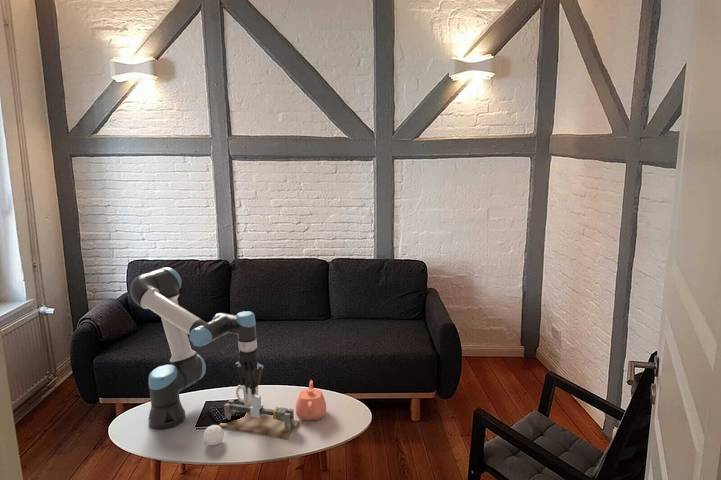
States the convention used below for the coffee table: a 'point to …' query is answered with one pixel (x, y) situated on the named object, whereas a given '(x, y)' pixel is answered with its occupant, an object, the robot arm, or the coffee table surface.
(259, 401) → the white stepped block
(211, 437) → the geometric ball
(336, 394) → the coffee table surface
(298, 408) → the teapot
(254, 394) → the mug
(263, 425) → the din rail terminal board
